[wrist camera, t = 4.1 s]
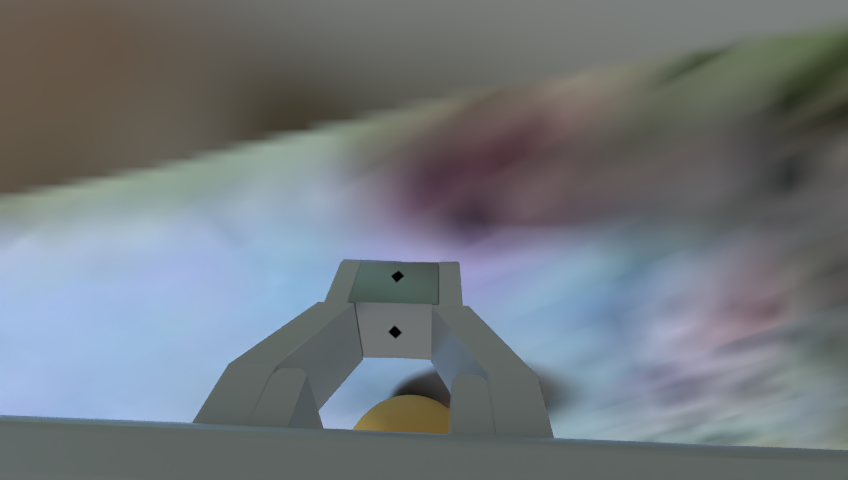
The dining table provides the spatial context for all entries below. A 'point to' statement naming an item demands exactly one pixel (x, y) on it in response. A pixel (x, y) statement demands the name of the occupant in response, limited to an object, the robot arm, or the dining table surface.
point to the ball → (406, 416)
